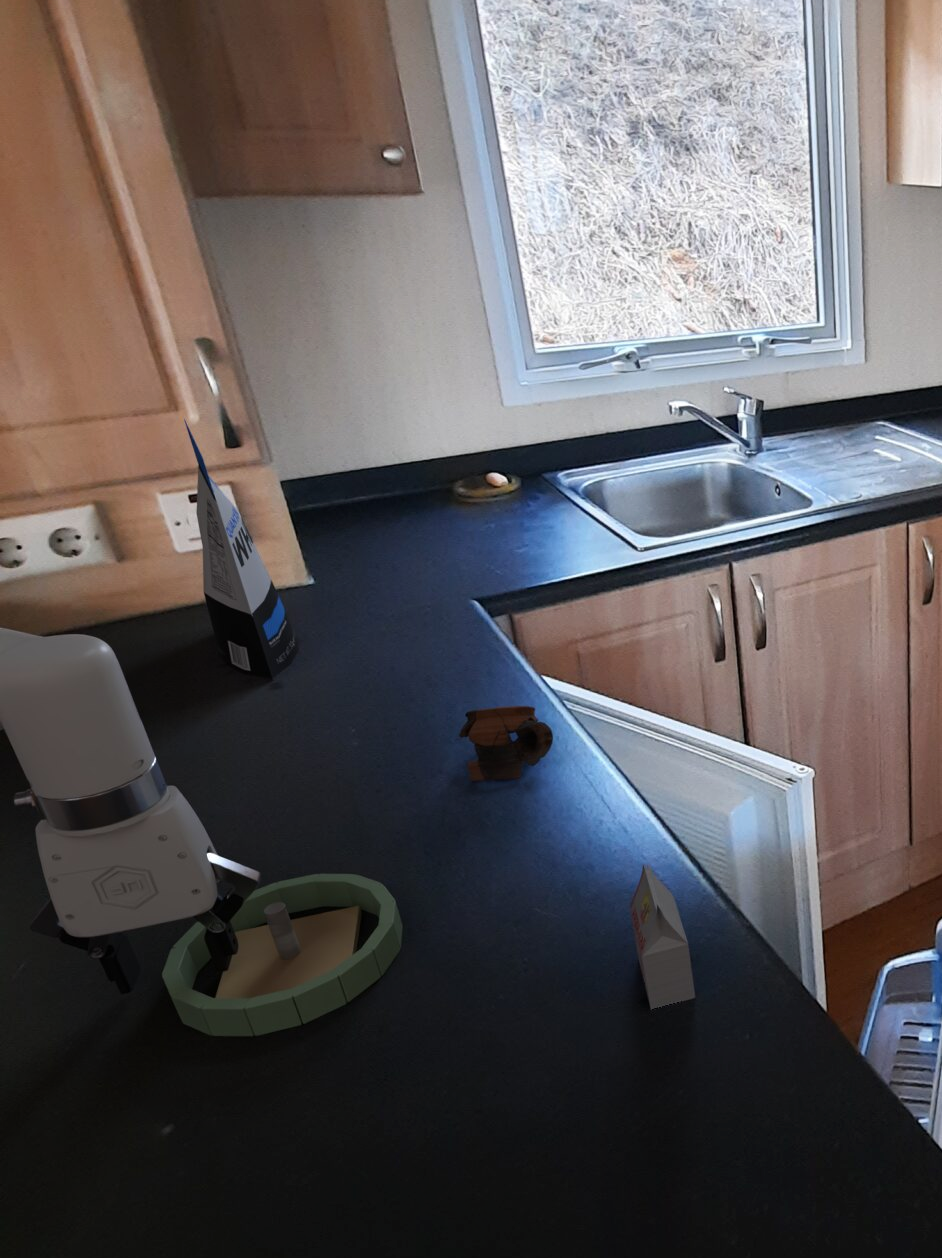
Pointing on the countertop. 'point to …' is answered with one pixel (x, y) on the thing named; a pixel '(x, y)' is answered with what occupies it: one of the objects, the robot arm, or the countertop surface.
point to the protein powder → (239, 587)
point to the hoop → (304, 998)
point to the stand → (289, 951)
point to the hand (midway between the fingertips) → (179, 970)
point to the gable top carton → (661, 943)
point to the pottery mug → (505, 741)
